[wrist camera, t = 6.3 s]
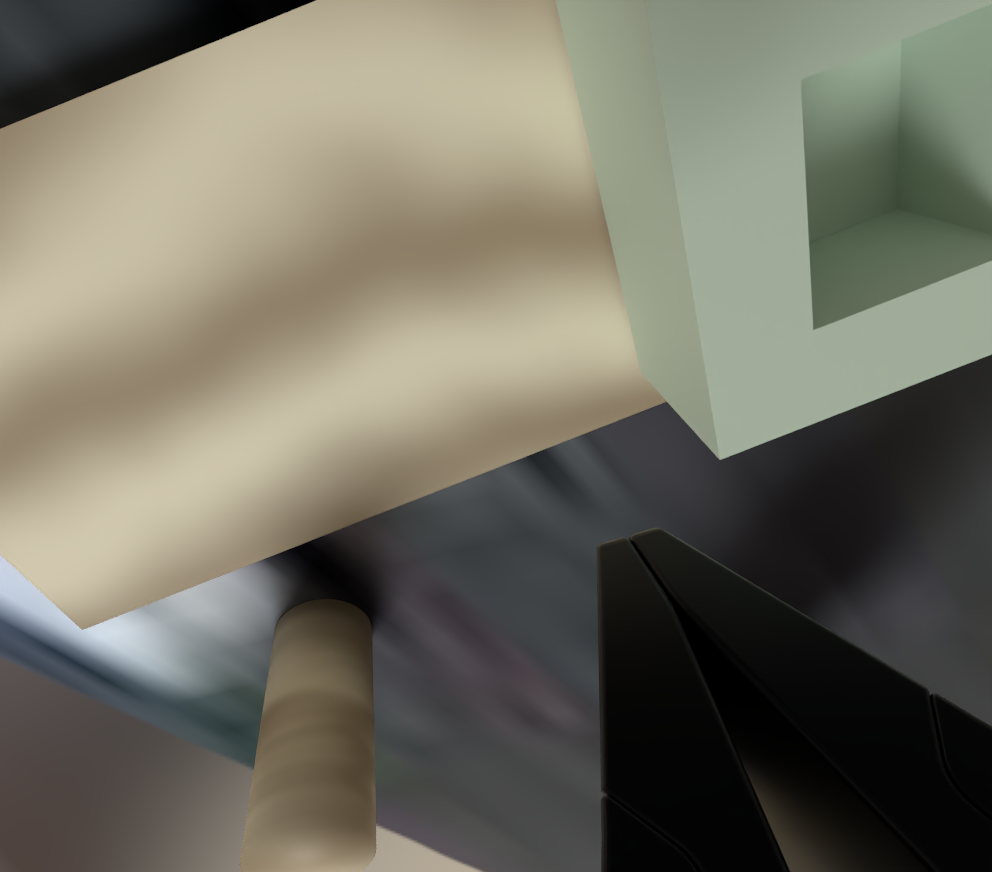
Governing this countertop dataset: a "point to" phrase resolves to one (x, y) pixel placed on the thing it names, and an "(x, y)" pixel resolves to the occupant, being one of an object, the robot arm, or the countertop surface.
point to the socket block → (791, 197)
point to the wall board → (296, 291)
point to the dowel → (315, 746)
